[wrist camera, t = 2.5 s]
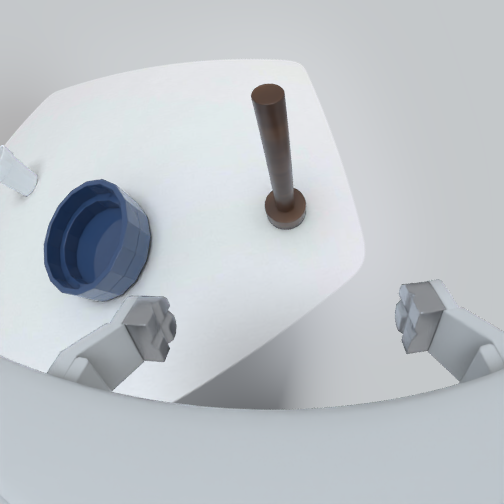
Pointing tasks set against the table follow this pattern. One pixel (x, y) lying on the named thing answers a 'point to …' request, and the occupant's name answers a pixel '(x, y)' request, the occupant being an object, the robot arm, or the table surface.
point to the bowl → (96, 242)
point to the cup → (16, 173)
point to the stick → (278, 157)
